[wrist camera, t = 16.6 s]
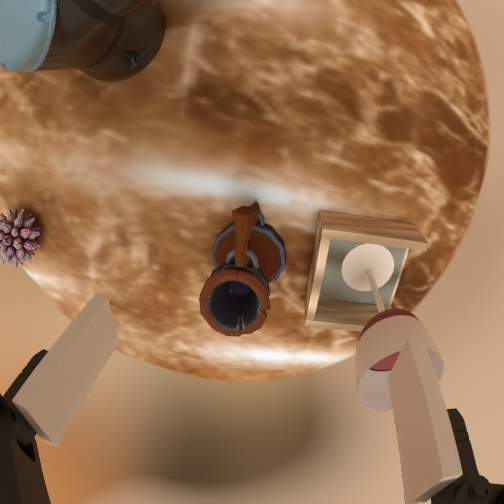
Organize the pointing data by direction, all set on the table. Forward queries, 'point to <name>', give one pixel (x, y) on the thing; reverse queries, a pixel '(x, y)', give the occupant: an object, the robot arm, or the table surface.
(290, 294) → the table surface
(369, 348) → the wineglass
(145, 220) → the table surface
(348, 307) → the square tray
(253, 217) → the brown pitcher
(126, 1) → the robot arm
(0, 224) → the flower
